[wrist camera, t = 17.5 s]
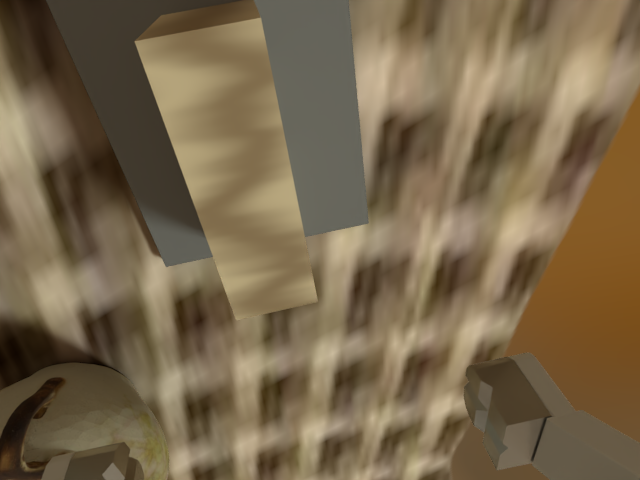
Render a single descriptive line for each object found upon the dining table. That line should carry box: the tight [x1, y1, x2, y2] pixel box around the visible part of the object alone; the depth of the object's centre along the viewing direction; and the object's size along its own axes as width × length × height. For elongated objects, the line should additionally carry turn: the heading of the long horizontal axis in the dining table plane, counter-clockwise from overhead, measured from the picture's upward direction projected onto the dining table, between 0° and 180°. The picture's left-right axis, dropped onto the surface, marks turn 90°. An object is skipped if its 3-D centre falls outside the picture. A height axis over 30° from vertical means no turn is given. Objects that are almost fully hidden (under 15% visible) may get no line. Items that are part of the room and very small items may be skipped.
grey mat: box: [46, 0, 369, 267], centre depth 25 cm, size 14×16×1 cm
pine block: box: [134, 0, 318, 320], centre depth 22 cm, size 4×7×14 cm
